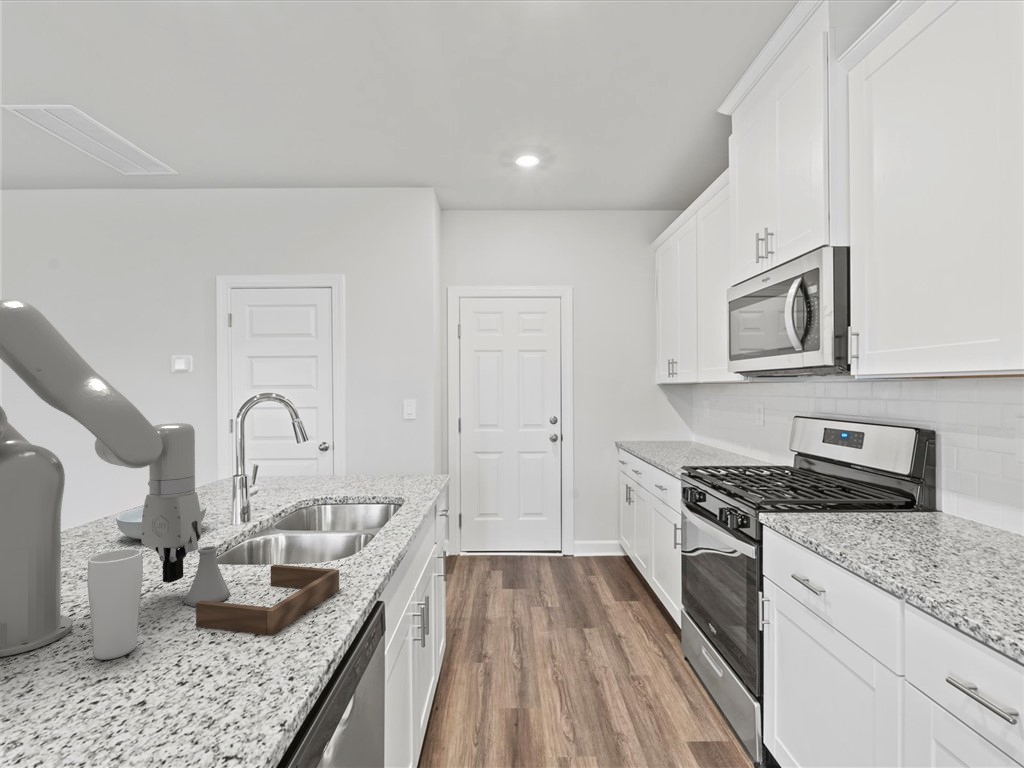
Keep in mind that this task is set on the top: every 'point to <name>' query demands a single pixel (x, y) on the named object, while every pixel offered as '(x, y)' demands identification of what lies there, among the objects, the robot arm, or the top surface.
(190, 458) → the robot arm
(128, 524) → the serving bowl
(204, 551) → the flask
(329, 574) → the box
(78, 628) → the top surface
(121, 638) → the white tall hollow cylinder
